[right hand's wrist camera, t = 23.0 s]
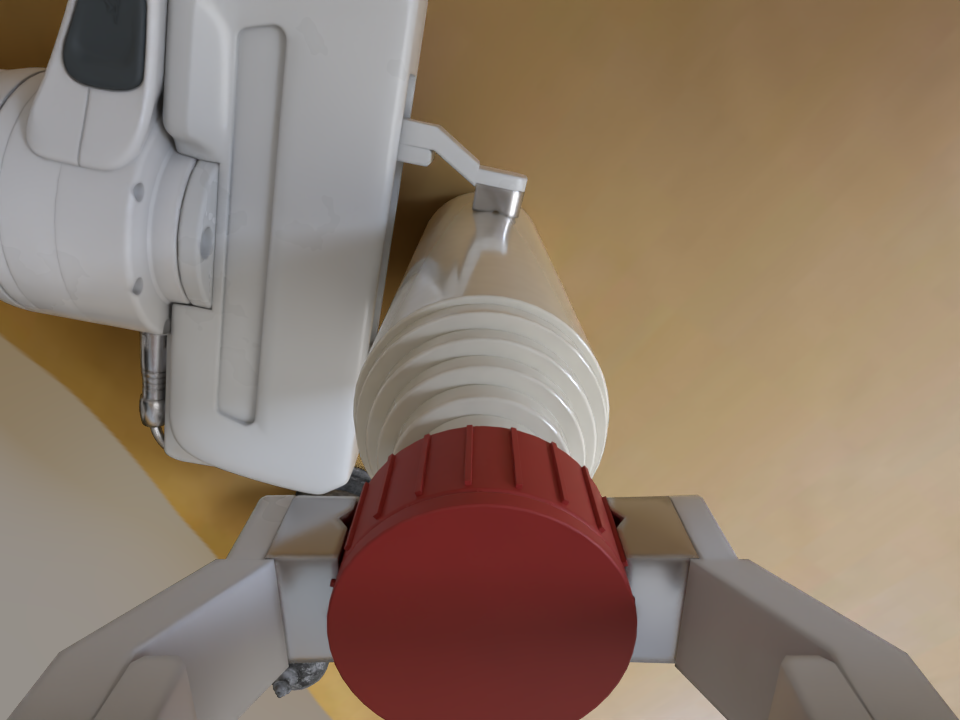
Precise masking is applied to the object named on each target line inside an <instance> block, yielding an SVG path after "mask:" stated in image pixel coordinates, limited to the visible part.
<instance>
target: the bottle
mask: <svg viewBox="0 0 960 720" xmlns="http://www.w3.org/2000/svg"><path fill="white" fill-rule="evenodd" d="M473 198H474V192H472V193H466V194H463V195H460V196H457V197H455V198H453V199H451V200H450V201H448V202H446V203H445V204H444V205H443V206H441V207H440V208H439V209H438V210H437V211H436V212H435V214H434V215H433V216H432V218H431V219H430V220H429V222H428V224H427V226H426V228H425V230H424V233H423V235H422V237H421V239H420V241H419V244H418V246H417V248H416V250H415V252H414V255H413V257H412V259H411V261H410V263H409V266H408V268H407V270H406V272H405V274H404V277H403V279H402V281H401V283H400V285H399V288H398V290H397V292H396V294H395V296H394V299H393V301H392V303H391V305H390V307H389V310H388V312H387V314H386V316H385V318H384V321H383V323H382V325H381V327H380V329H379V332H378V334H377V336H376V338H375V340H374V343H373V345H372V347H371V349H370V351H369V354H368V356H367V358H366V360H365V362H364V365H363V367H362V369H361V371H360V375H359V378H358V381H357V384H356V389H355V394H354V401H353V418H354V426H355V432H356V440H357V446H358V450H359V453H360V457H361V460H362V462H363V464H364V466H365V469H366V471H367V473H368V475H369V476H370V478H371V479H372V478H373V477H374V475H375V474H376V473H377V471H378V470H379V469H380V468H381V467H382V466H383V465H384V464H385V463H386V462H387V460H388V457H389V456H390V455H391V454H392V453H393V454H394V455H396V454H397V453H398V452H399V451H401V450H402V449H404V448H406V447H407V446H409V445H411V444H413V443H414V442H416V441H418V440H420V439H422V438H424V435H426V434H430V435H432V434H435V433H439V432H442V431H446V430H449V429H455V428H462V427H467V425H473V426H491V427H503V428H508V429H511V427H513V428H516V429H517V430H518V431H522V432H525V433H528V434H531V435H534V436H536V437H539V438H541V439H543V440H545V441H547V442H549V443H551V442H552V441H553V442H554V443H556V444H557V447H558V448H559V449H561V450H562V451H564V452H566V453H567V454H568V455H569V456H570V457H572V458H573V459H574V460H575V461H576V462H578V463H579V464H580V466H581V467H583V466H584V465H585V466H586V467H587V468H588V471H589V475H590V477H591V479H592V478H593V476H594V474H595V472H596V470H597V468H598V466H599V464H600V461H601V458H602V455H603V452H604V449H605V443H606V438H607V429H608V423H609V398H608V390H607V386H606V382H605V379H604V375H603V373H602V371H601V368H600V366H599V364H598V361H597V359H596V357H595V355H594V353H593V350H592V348H591V346H590V344H589V342H588V340H587V337H586V335H585V333H584V331H583V329H582V327H581V324H580V322H579V320H578V318H577V316H576V314H575V311H574V309H573V307H572V305H571V303H570V301H569V298H568V296H567V294H566V292H565V290H564V288H563V285H562V283H561V281H560V279H559V277H558V275H557V273H556V270H555V268H554V266H553V264H552V262H551V260H550V257H549V255H548V253H547V251H546V249H545V247H544V244H543V242H542V240H541V238H540V236H539V234H538V231H537V229H536V227H535V225H534V223H533V221H532V220H531V218H530V217H529V215H528V214H527V213H526V212H525V211H524V210H523V209H522V208H521V209H520V213H519V217H518V218H512V217H507V216H504V215H501V214H500V213H499V212H498V211H497V210H496V211H493V212H482V211H477V210H472V204H473Z"/></svg>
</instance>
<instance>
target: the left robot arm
mask: <svg viewBox="0 0 960 720" xmlns="http://www.w3.org/2000/svg"><path fill="white" fill-rule="evenodd" d="M427 6H428V0H68V3H67V6H66V10H65V13H64V16H63V20H62V23H61V26H60V29H59V33H58V36H57V39H56V42H55V45H54V48H53V51H52V54H51V57H50V60H49V62H48V65H47V68H42V67H35V68H22V69H12V70H5V69H0V300H2V301H3V302H5V303H8V304H10V305H12V306H15V307H19V308H22V309H25V310H29V311H33V312H38V313H44V314H49V315H54V316H60V317H65V318H70V319H76V320H81V321H87V322H92V323H97V324H104V325H109V326H115V327H120V328H125V329H130V330H136V331H140V367H141V373H142V385H143V386H142V394H141V395H140V402H139V410H140V417H141V421H142V424H143V425H145V426H147V427H150V429H151V432H152V434H153V436H154V438H155V440H156V441H157V443H158V444H159V445H160V446H161V447H162V448H163V449H164V451H165V453H166V454H167V455H168V456H170V457H172V458H174V459H177V460H180V461H184V462H190V463H196V464H202V465H207V466H214V467H217V468H220V469H222V470H225V471H228V472H231V473H234V474H237V475H240V476H243V477H247V478H250V479H253V480H257V481H260V482H264V483H267V484H271V485H275V486H279V487H282V488H286V489H290V490H295V491H299V492H303V493H309V494H318V495H320V494H325V493H327V492H330V491H332V490H334V489H337V488H339V487H341V486H343V485H345V484H346V483H347V482H348V481H349V479H350V476H351V474H352V471H353V469H354V466H355V463H356V460H357V457H358V453H359V450H358V446H357V440H356V432H355V426H354V418H353V401H354V394H355V389H356V384H357V381H358V378H359V375H360V371H361V369H362V367H363V365H364V362H365V360H366V358H367V356H368V354H369V351H370V349H371V347H372V345H373V343H374V340H375V338H376V336H377V334H378V328H379V321H380V315H381V308H382V301H383V295H384V288H385V282H386V275H387V269H388V262H389V256H390V249H391V242H392V236H393V229H394V223H395V216H396V210H397V203H398V197H399V190H400V183H401V177H402V170H403V164H404V162H406V163H411V164H416V165H421V166H426V167H427V166H428V165H429V164H430V163H431V162H432V161H433V160H434V157H435V152H436V153H437V154H438V155H439V156H441V157H442V158H443V159H444V160H445V161H446V162H447V163H448V164H450V165H451V166H452V167H453V168H454V169H455V170H456V171H458V172H459V173H460V174H461V175H462V176H463V177H464V178H465V179H467V180H468V181H469V182H470V183H471V184H472V185H473V186H475V185H476V186H475V192H474V198H473V204H472V210H477V211H482V212H493V211H496V210H497V211H498V212H499V213H500V214H501V215H504V216H507V217H512V218H518V217H519V213H520V209H521V205H522V201H523V197H524V193H525V187H526V183H527V179H528V178H527V176H526V175H523V174H520V173H517V172H512V171H507V170H503V169H498V168H493V167H488V166H484V165H480V161H479V160H478V159H477V158H476V157H475V156H474V155H472V154H471V153H470V152H469V151H468V150H467V149H466V148H465V147H464V146H463V145H462V144H460V143H459V142H458V141H457V140H456V139H455V138H454V137H453V136H452V135H451V134H450V133H448V132H447V131H446V130H445V129H444V128H443V127H442V126H441V125H438V124H433V123H428V122H424V121H419V120H414V119H410V118H411V111H412V105H413V98H414V92H415V85H416V78H417V72H418V65H419V59H420V52H421V46H422V39H423V33H424V26H425V19H426V12H427ZM163 425H165V431H164V433H163V431H162V428H161V426H163Z"/></svg>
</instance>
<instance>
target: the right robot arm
mask: <svg viewBox="0 0 960 720" xmlns="http://www.w3.org/2000/svg"><path fill="white" fill-rule="evenodd" d="M359 498H360V497H351V496H301V495H298V496H295V495H266V496H264V497H262V498H261V499H260V500H259V501H258V503H257V505H256V507H255V508H254V510H253V512H252V514H251V515H250V517H249V519H248V521H247V522H246V524H245V526H244V528H243V530H242V531H241V533H240V535H239V537H238V538H237V540H236V542H235V544H234V545H233V547H232V549H231V551H230V552H229V554H228V556H227V558H226V559H216V560H214V561H212V562H210V563H209V564H207V565H205V566H204V567H202V568H200V569H199V570H197V571H195V572H194V573H192V574H190V575H189V576H187V577H185V578H184V579H182V580H180V581H179V582H177V583H175V584H174V585H172V586H170V587H168V588H167V589H165V590H163V591H162V592H160V593H158V594H157V595H155V596H153V597H152V598H150V599H148V600H147V601H145V602H143V603H142V604H140V605H138V606H136V607H135V608H133V609H132V610H130V611H128V612H126V613H125V614H123V615H121V616H120V617H118V618H116V619H115V620H113V621H111V622H110V623H108V624H106V625H105V626H103V627H101V628H100V629H98V630H96V631H94V632H93V633H91V634H89V635H88V636H86V637H84V638H83V639H81V640H79V641H78V642H76V643H74V644H73V645H71V646H69V647H68V648H66V649H64V650H63V651H61V652H59V653H58V655H57V656H56V657H55V659H54V660H53V661H52V662H51V664H50V665H49V666H48V668H47V669H46V670H45V671H44V673H43V674H42V675H41V676H40V678H39V679H38V680H37V682H36V683H35V684H34V685H33V687H32V688H31V689H30V691H29V692H28V693H27V694H26V696H25V697H24V698H23V700H22V701H21V702H20V703H19V705H18V706H17V707H16V709H15V710H14V711H13V712H12V714H11V715H10V716H9V718H8V719H7V720H237V719H238V718H239V717H240V716H241V715H242V714H243V713H244V712H245V711H246V710H247V709H248V708H249V707H250V706H251V705H252V704H253V703H254V702H255V701H256V700H257V699H258V698H259V697H260V696H261V695H262V694H263V693H264V692H265V691H266V690H267V689H268V687H269V686H270V685H271V684H272V683H273V682H274V681H275V680H276V679H277V678H278V677H279V676H280V675H281V674H282V673H283V672H284V671H285V670H286V669H287V668H288V667H289V665H288V663H319V662H334V660H333V657H332V654H331V651H330V648H329V642H328V637H327V612H328V606H329V600H330V597H331V594H332V590H333V587H330V582H331V580H334V581H336V577H337V574H338V572H339V568H340V565H341V562H342V559H343V555H344V552H345V550H344V547H345V543H346V540H347V537H348V534H349V530H350V527H351V524H352V521H353V517H354V514H355V511H356V508H357V504H358V501H359ZM607 501H608V505H609V508H610V511H611V513H612V516H613V519H614V522H615V525H616V529H617V533H618V536H619V539H620V542H621V545H622V548H623V551H624V554H625V557H626V560H627V563H628V566H626V567H624V568H625V572H626V575H627V578H628V581H629V584H630V588H631V591H632V594H633V597H635V605H636V612H637V638H636V642H635V647H634V651H633V655H632V657H631V660H630V662H644V663H675V667H676V668H677V669H678V670H679V671H680V672H681V673H682V674H683V675H684V676H685V677H686V678H687V679H688V680H689V681H690V682H691V683H692V684H693V685H694V686H695V687H696V688H697V689H698V690H699V691H700V692H701V693H702V694H703V695H704V696H705V697H706V698H707V699H708V700H709V701H710V702H711V704H712V705H713V706H714V707H715V708H716V709H717V710H718V711H719V712H720V713H721V714H722V715H723V716H724V717H725V718H726V719H727V720H959V719H958V718H957V717H956V715H955V714H954V713H953V712H952V710H951V709H950V708H949V706H948V705H947V704H946V703H945V701H944V700H943V699H942V697H941V696H940V695H939V694H938V692H937V691H936V690H935V689H934V687H933V686H932V685H931V683H930V682H929V681H928V680H927V678H926V677H925V676H924V674H923V673H922V672H921V671H920V669H919V668H918V667H917V665H916V664H915V663H914V662H913V660H912V659H911V658H910V657H909V655H908V654H907V653H905V652H904V651H902V650H900V649H899V648H897V647H895V646H894V645H892V644H890V643H889V642H887V641H885V640H884V639H882V638H880V637H878V636H877V635H875V634H873V633H872V632H870V631H868V630H867V629H865V628H863V627H862V626H860V625H858V624H857V623H855V622H853V621H851V620H850V619H848V618H846V617H845V616H843V615H841V614H840V613H838V612H836V611H835V610H833V609H831V608H830V607H828V606H826V605H824V604H823V603H821V602H819V601H818V600H816V599H814V598H813V597H811V596H809V595H808V594H806V593H804V592H803V591H801V590H799V589H798V588H796V587H794V586H792V585H791V584H789V583H787V582H786V581H784V580H782V579H781V578H779V577H777V576H776V575H774V574H772V573H771V572H769V571H767V570H765V569H764V568H762V567H760V566H759V565H757V564H755V563H754V562H752V561H750V560H749V559H738V557H737V556H736V554H735V552H734V551H733V549H732V547H731V546H730V544H729V542H728V540H727V539H726V537H725V535H724V534H723V532H722V530H721V528H720V527H719V525H718V523H717V522H716V520H715V518H714V517H713V515H712V513H711V511H710V510H709V508H708V506H707V505H706V503H705V501H704V499H703V498H702V497H700V496H699V495H678V496H656V497H612V498H607Z"/></svg>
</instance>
